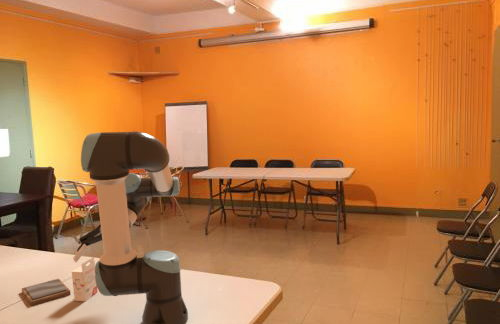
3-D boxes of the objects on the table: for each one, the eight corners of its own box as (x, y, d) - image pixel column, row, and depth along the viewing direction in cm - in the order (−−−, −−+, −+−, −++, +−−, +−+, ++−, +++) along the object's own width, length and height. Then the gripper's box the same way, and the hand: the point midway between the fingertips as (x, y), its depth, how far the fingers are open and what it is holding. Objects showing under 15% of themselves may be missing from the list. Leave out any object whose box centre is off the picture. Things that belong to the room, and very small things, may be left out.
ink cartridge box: (86, 291, 166) (83, 255, 164) (98, 292, 165) (95, 256, 164) (73, 301, 158) (70, 263, 156) (85, 301, 157) (82, 264, 155)
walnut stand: (70, 294, 164) (70, 289, 164) (31, 305, 155) (30, 300, 155) (59, 282, 176) (58, 277, 176) (22, 292, 167) (21, 287, 167)
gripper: (151, 237, 165) (122, 283, 152) (98, 216, 170) (64, 260, 157) (149, 226, 160) (118, 274, 146) (93, 205, 165) (58, 249, 151)
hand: (90, 267), depth 151 cm, fingers open, 13 cm apart
